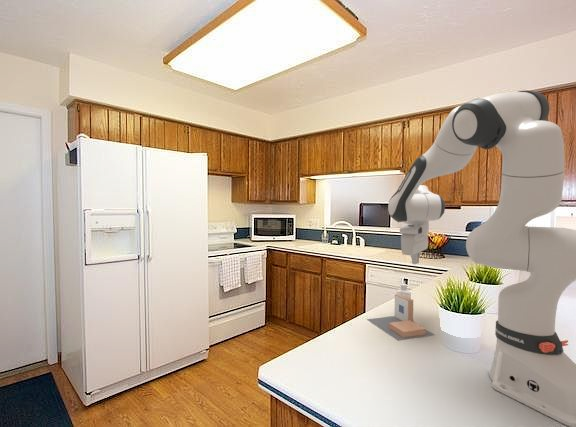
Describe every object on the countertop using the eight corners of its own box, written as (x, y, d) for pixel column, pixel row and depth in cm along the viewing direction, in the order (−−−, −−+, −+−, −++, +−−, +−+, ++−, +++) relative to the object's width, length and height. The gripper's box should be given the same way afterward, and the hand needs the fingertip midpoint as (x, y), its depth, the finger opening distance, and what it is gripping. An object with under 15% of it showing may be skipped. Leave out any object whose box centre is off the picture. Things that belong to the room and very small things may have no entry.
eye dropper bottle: (405, 312, 125) (406, 283, 124) (394, 308, 130) (395, 280, 129) (412, 310, 127) (412, 282, 127) (401, 306, 132) (401, 279, 132)
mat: (435, 335, 102) (435, 335, 102) (398, 341, 97) (398, 340, 97) (399, 316, 120) (399, 315, 120) (366, 320, 116) (366, 319, 116)
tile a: (426, 328, 102) (403, 331, 99) (426, 334, 102) (403, 338, 99) (410, 320, 110) (388, 322, 107) (409, 325, 110) (388, 328, 107)
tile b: (412, 324, 111) (413, 300, 111) (408, 324, 111) (408, 300, 110) (398, 316, 119) (399, 293, 119) (394, 317, 118) (394, 294, 118)
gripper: (416, 225, 125) (415, 258, 126) (397, 229, 109) (397, 267, 110) (432, 226, 121) (432, 260, 121) (415, 230, 105) (415, 269, 106)
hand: (415, 263), depth 116 cm, fingers closed
